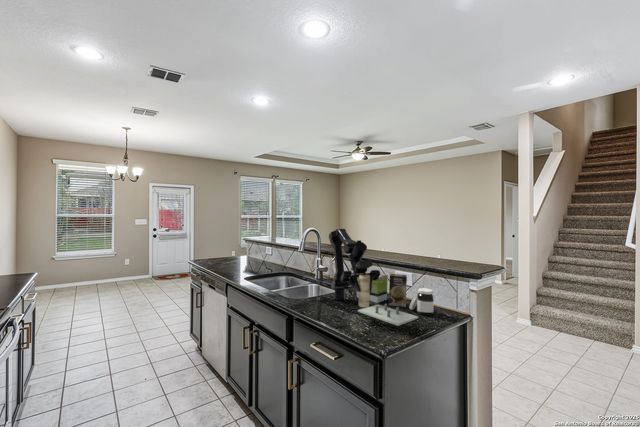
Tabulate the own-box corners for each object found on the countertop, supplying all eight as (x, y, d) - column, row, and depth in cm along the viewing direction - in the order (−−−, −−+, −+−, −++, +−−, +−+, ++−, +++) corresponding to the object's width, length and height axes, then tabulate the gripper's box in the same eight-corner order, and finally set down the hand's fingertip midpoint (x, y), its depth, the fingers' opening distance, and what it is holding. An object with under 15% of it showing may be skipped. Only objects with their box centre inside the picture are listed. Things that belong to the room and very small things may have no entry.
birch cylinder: (358, 303, 146) (359, 274, 146) (369, 304, 145) (370, 274, 145) (358, 306, 141) (358, 276, 141) (369, 307, 140) (369, 277, 140)
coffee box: (388, 305, 165) (389, 275, 165) (388, 302, 171) (389, 273, 171) (406, 307, 163) (406, 276, 163) (405, 303, 169) (406, 274, 169)
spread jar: (434, 317, 148) (435, 292, 148) (410, 314, 150) (410, 291, 150) (430, 309, 160) (431, 287, 160) (408, 307, 162) (408, 285, 162)
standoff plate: (357, 311, 153) (357, 304, 153) (378, 305, 164) (378, 298, 164) (398, 325, 135) (398, 317, 135) (418, 318, 146) (418, 310, 146)
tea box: (355, 297, 179) (356, 272, 179) (366, 294, 186) (366, 270, 186) (377, 303, 169) (378, 276, 169) (387, 300, 176) (388, 274, 176)
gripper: (343, 253, 144) (351, 282, 133) (379, 253, 149) (389, 281, 138) (337, 267, 151) (344, 296, 141) (371, 266, 157) (381, 293, 146)
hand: (365, 291), depth 141 cm, fingers closed on birch cylinder, 5 cm apart
